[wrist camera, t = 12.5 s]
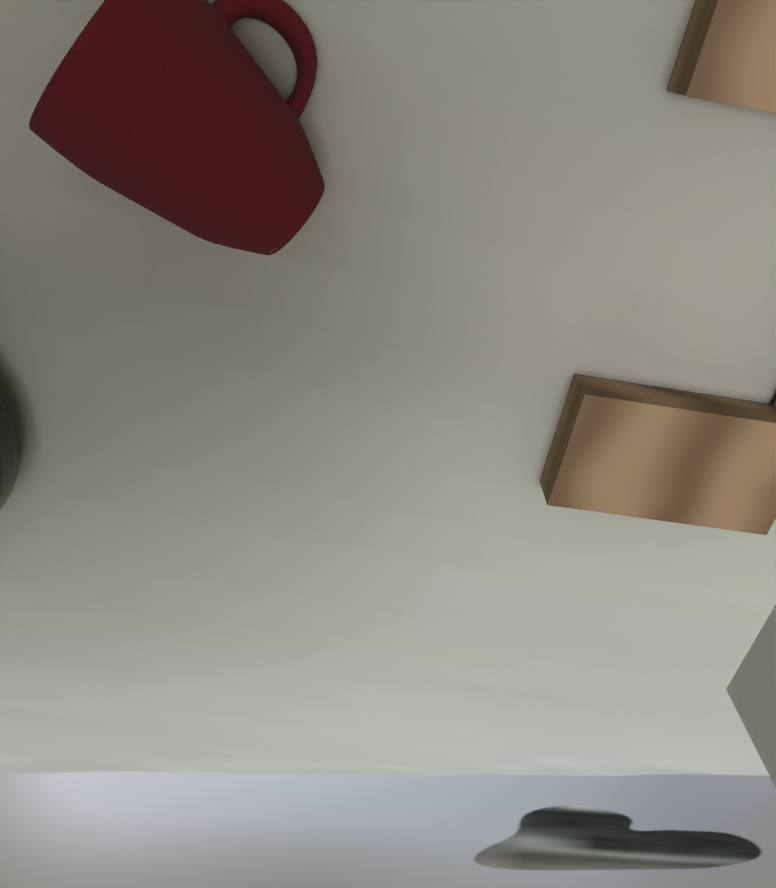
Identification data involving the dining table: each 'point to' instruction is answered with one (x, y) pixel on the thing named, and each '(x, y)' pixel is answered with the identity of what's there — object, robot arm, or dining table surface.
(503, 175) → the dining table surface
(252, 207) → the mug
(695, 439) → the wooden stand
